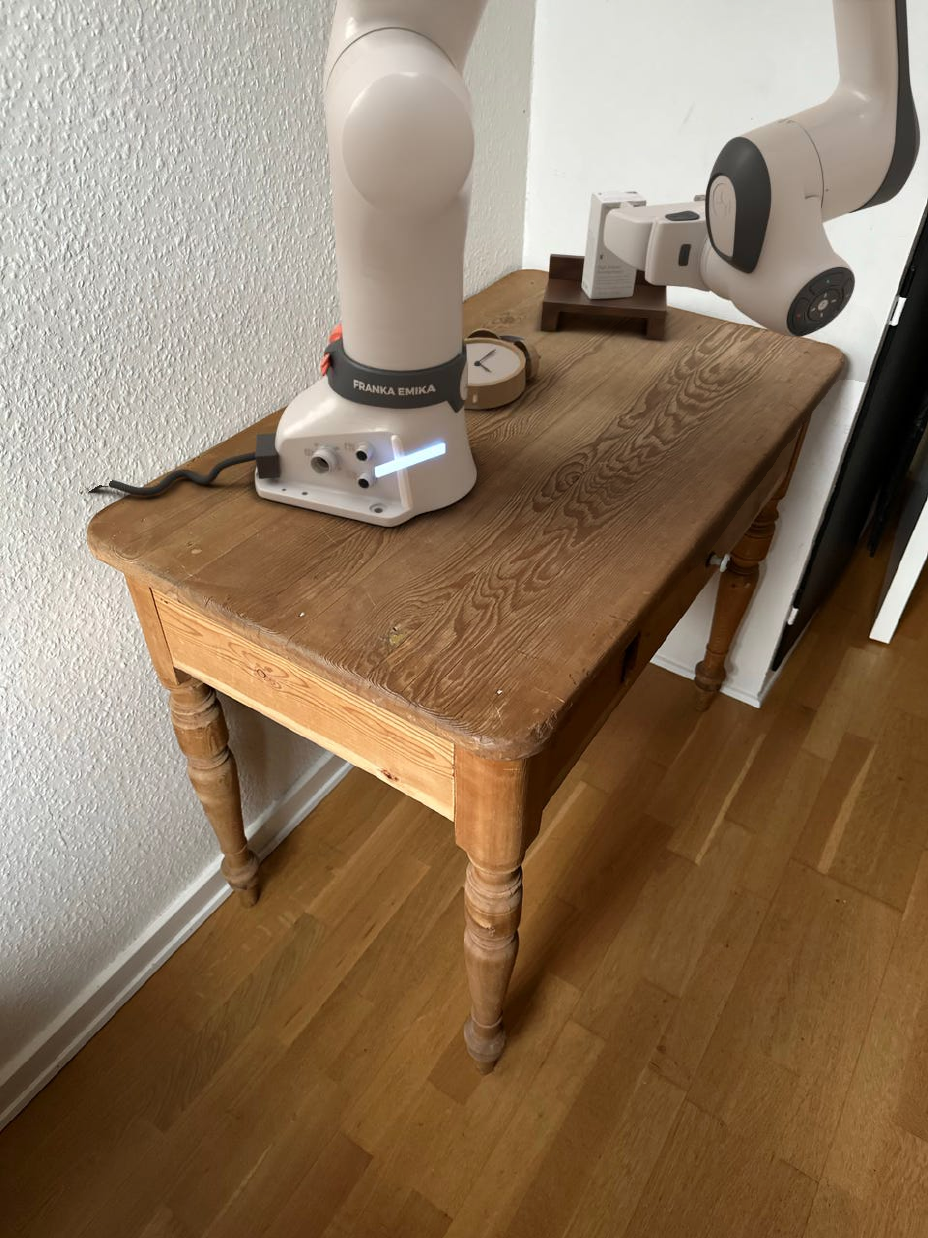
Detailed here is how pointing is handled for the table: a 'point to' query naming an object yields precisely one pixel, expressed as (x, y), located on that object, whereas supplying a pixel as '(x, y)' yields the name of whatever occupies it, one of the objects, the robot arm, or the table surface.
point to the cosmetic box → (606, 250)
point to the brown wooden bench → (572, 298)
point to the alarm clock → (497, 368)
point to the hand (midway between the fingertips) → (662, 204)
